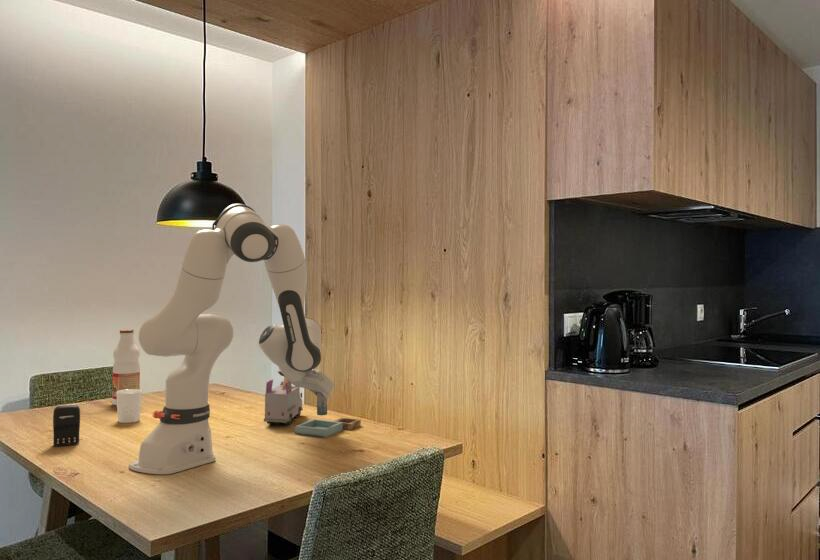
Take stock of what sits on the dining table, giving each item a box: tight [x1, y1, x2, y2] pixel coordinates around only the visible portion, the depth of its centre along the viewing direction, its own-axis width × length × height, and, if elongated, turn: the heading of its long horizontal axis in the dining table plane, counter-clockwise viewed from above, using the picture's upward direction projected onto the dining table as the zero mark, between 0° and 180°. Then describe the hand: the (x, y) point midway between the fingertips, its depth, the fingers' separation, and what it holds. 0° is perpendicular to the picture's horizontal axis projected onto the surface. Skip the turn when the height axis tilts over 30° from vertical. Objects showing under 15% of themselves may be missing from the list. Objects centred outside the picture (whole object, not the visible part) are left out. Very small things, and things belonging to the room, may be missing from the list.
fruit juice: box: [111, 328, 141, 407], centre depth 242 cm, size 9×9×28 cm
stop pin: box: [316, 391, 328, 416], centre depth 205 cm, size 4×4×11 cm
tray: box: [294, 418, 344, 439], centre depth 206 cm, size 11×11×2 cm
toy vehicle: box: [263, 376, 303, 426], centre depth 220 cm, size 9×20×15 cm, turn 174°
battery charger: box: [52, 403, 81, 447], centre depth 185 cm, size 7×4×11 cm, turn 118°
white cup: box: [116, 389, 143, 424], centre depth 216 cm, size 8×8×10 cm
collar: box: [334, 417, 362, 431], centre depth 213 cm, size 7×7×2 cm
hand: (323, 395), depth 205 cm, fingers closed on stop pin, 3 cm apart
